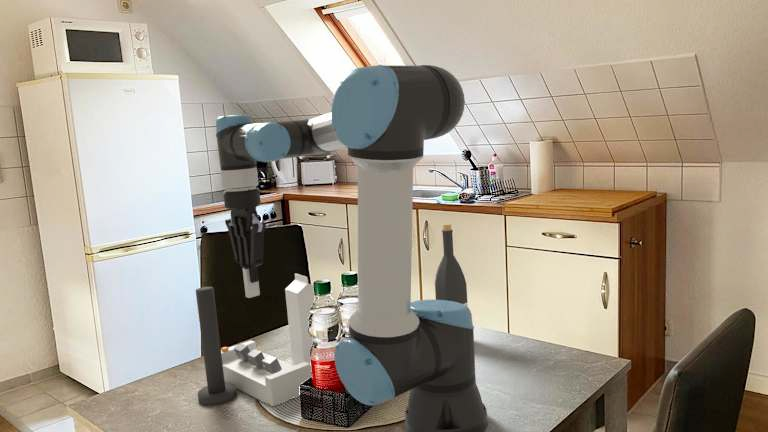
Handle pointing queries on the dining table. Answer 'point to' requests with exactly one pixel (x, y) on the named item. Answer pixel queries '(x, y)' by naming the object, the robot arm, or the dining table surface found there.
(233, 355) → the strip
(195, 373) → the dining table surface
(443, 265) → the wine bottle
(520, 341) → the dining table surface
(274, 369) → the paddle bank
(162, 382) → the dining table surface
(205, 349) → the post
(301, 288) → the milk
